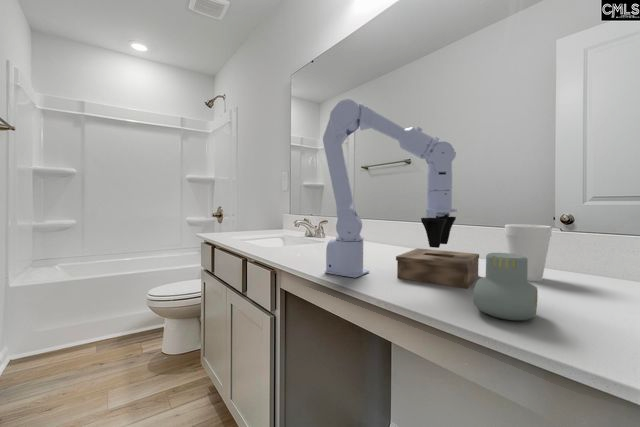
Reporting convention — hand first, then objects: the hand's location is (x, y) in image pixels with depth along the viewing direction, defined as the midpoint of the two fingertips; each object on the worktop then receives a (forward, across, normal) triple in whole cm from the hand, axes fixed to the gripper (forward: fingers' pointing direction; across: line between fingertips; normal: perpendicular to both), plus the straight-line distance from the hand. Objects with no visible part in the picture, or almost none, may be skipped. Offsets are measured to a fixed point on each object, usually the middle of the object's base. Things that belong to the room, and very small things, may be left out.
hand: (438, 245), depth 76 cm
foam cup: (+8, +12, -18) cm, 23 cm away
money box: (+8, 0, 0) cm, 8 cm away
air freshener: (+8, -20, -16) cm, 27 cm away
